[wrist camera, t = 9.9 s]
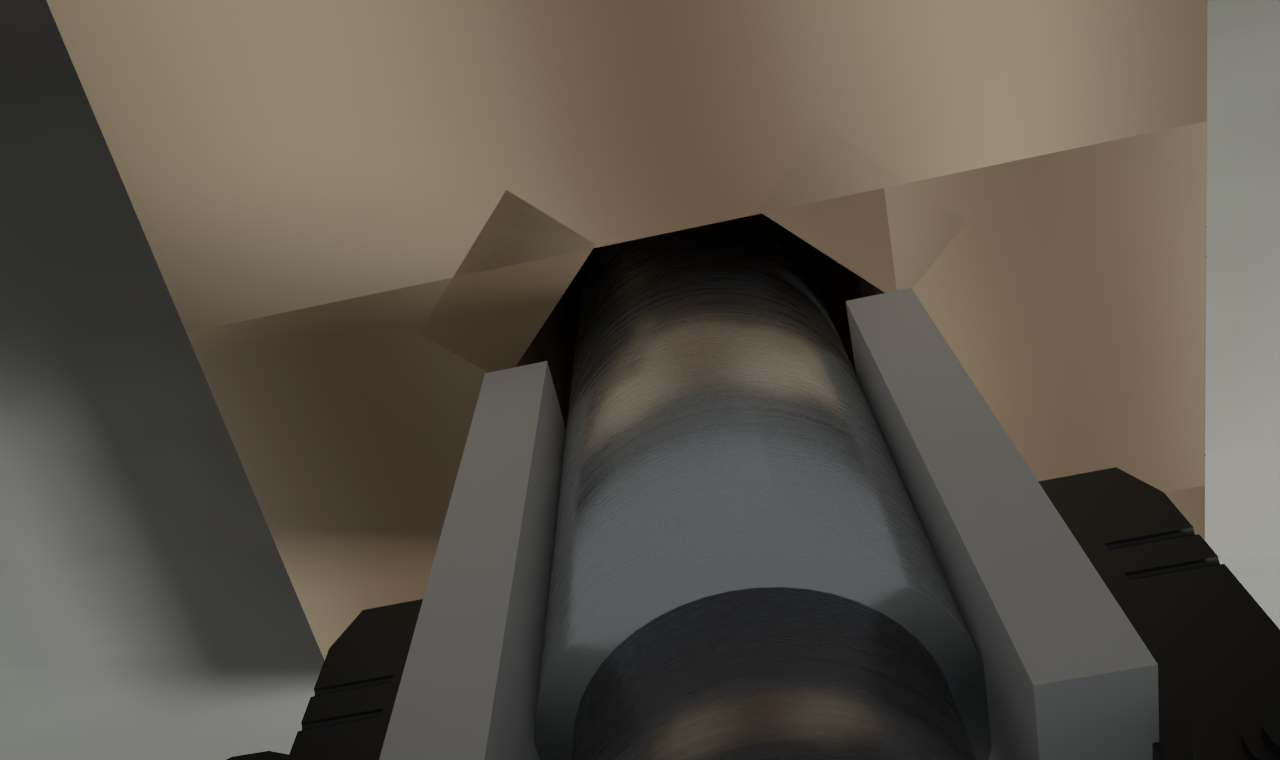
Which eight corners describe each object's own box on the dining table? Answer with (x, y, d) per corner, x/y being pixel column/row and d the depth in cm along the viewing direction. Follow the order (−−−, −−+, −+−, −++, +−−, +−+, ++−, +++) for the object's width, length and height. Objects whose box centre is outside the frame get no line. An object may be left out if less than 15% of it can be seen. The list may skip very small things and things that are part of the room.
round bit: (609, 440, 18) (580, 1358, 7) (553, 228, 16) (405, 979, 5) (832, 395, 17) (1169, 1284, 7) (796, 175, 16) (1157, 858, 5)
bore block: (480, 671, 23) (434, 921, 18) (188, -168, 16) (-29, -178, 11) (1062, 568, 22) (1202, 799, 17) (1005, -369, 15) (1209, -489, 10)
